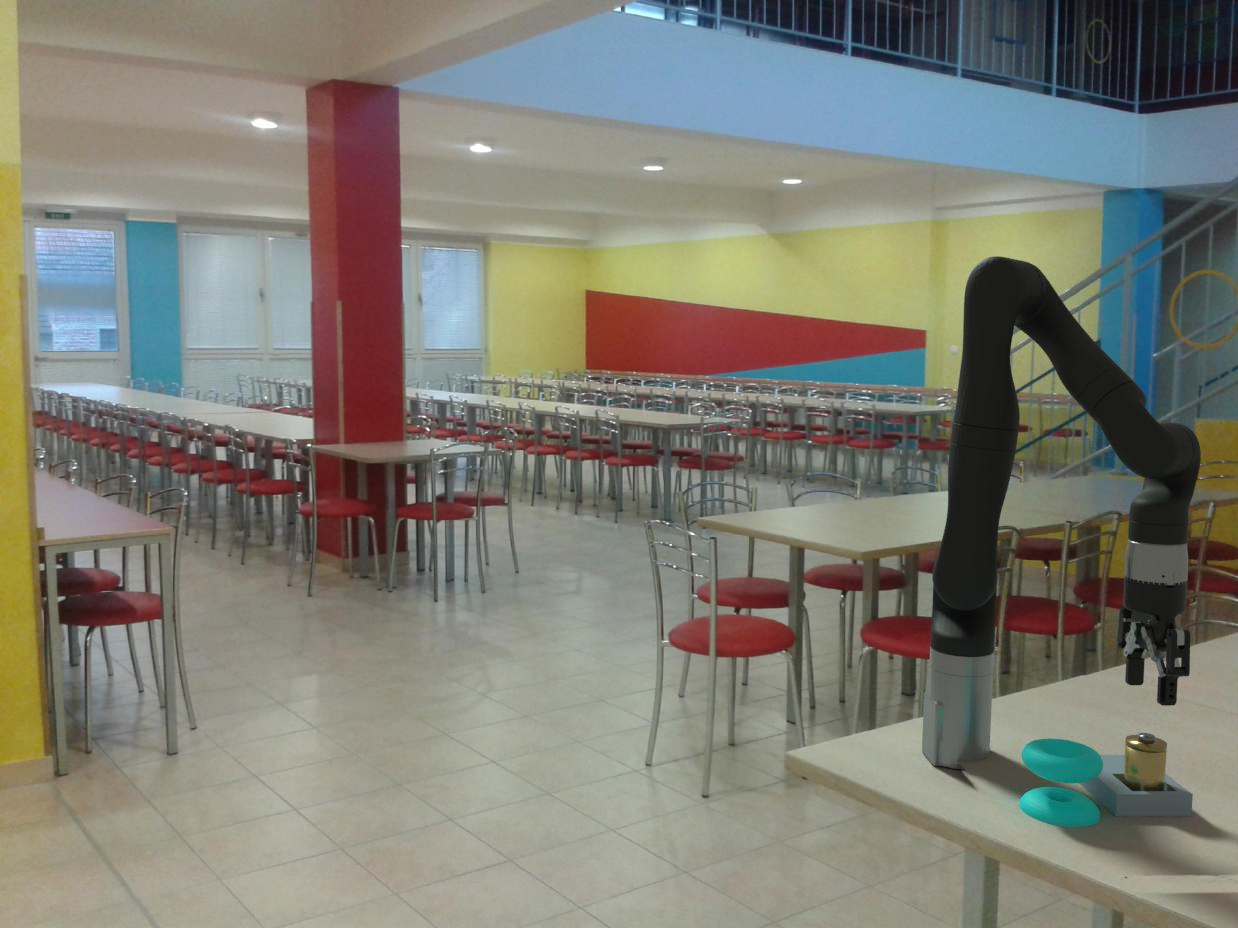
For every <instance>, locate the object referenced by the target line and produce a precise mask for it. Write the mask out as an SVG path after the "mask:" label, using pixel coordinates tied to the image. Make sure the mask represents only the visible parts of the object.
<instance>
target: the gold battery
mask: <svg viewBox="0 0 1238 928" xmlns="http://www.w3.org/2000/svg"><path fill="white" fill-rule="evenodd" d="M1167 749H1168V743H1167V742H1166V741H1165V740H1164V739H1162V738H1159V737H1156V736H1155V735H1154V734H1152V733H1148V732H1139V733H1138V734H1129V735H1127V736H1126V737H1125V743H1124V755H1125V759H1124V776H1123V784H1124V785H1126V786H1127V787H1128V788H1129V789H1130V790H1132V791H1164V784H1165V774H1166V767H1167V751H1168V750H1167Z"/></svg>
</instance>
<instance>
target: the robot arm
mask: <svg viewBox="0 0 1238 928" xmlns="http://www.w3.org/2000/svg"><path fill="white" fill-rule="evenodd" d="M963 301H964V302H963V323H962V324H963V329H962V354H961V361H960V362H961V363H960V369H959V377H958V386H957V394H956V395H957V396H956V402H955V407H954V408H955V409H954V413H953V420H952V428H951V433H950V434H951V435H950V441H949V442H950V443H949V452H948V465H947V466H948V468H947V513H946V520H945V526H944V529H943V530H944V531H943V534H942V535H943V536H942V539H941V544H940V547H939V551H938V554H937V557H936V559H935V561H934V565H933V568H932V578H931V579H932V584H933V586H932V609H931V622H930V643H929V644H930V646H929V666H928V668H929V671H928V691H925V692H924V693H923V715H922V739H921V741H922V743H921V752H922V754H923V755H924V756H925V758H927V760H928V762H930V764H931V765H933V766H934V767H935V766H937V767H940V766H941V767H945V768H949V769H955V770H956V769H957V770H965V768H964V767H963V765H961V764H960V762H976V761H977V762H978V761H982V760H984V759H985V760H986V759H988V757H989V756H990V752H991V728H992V727H991V724H992V709H993V708H992V706H993V700H992V699H993V683H994V680H993V679H994V665H995V664H994V659H995V639H996V613H997V612H996V611H997V610H996V609H997V607H996V606H997V588H998V577H999V576H998V564H997V562H998V540H999V529H1000V528H999V527H1000V525H999V524H1000V521H1001V520H1000V519H1001V514H1002V510H1003V507H1004V503H1005V499H1006V496H1007V492H1008V488H1009V485H1010V480H1011V476H1012V471H1013V467H1014V462H1015V458H1016V457H1015V456H1016V452H1017V444H1018V437H1019V429H1020V418H1021V417H1020V416H1021V415H1020V413H1021V412H1020V405H1019V400H1018V394H1017V391H1016V386H1015V383H1014V378H1013V372H1012V367H1011V350H1012V344H1013V343H1012V341H1013V336H1014V329H1015V327H1016V328H1017V329H1019V330H1020V331H1021V332H1023V333H1024V334H1026V336H1027V337H1029V338H1031V339H1032V340H1033V341H1034V342H1035V343H1036V344H1037V345H1038V346H1039V348H1041V350H1042V351H1043V353H1044V354H1045V355H1046V356H1047V358H1048V359H1049V362H1051V364H1052V366H1053V368H1054V370H1055V372H1056V374H1057V377H1059V380H1060V382H1061V384H1062V385H1063V386H1064V388H1065V389H1066V390H1067V392H1068V393H1069V394H1070V395H1071V397H1072V398H1073V399H1074V400H1075V401H1076V402H1077V404H1078V405H1080V407H1081V408H1082V409H1083V410H1084V411H1085V412H1086V413H1087V414H1088V415H1089V417H1091V419H1092V420H1094V421H1095V422H1096V423H1097V424H1098V425H1099V427H1100V429H1101V431H1102V433H1103V435H1104V437H1105V438H1106V440H1107V442H1108V443H1109V445H1110V447H1111V448H1112V450H1113V451H1114V453H1115V455H1116V456H1117V458H1118V459H1119V460H1120V462H1121V463H1122V464H1123V465H1124V466H1125V467H1126V468H1127V469H1129V470H1130V471H1131V472H1133V474H1135V475H1137V476H1138V477H1141V478H1143V479H1144V480H1143V484H1142V485H1143V486H1142V490H1141V492H1140V493H1139V495H1137V496H1136V497H1135V498H1134V499H1133V500H1132V501H1131V503H1130V507H1129V513H1128V530H1127V545H1126V549H1125V556H1124V577H1123V578H1124V579H1123V594H1122V595H1123V599H1122V601H1123V602H1122V604H1123V605H1122V606H1121V607H1119V616H1118V617H1119V619H1118V627H1117V628H1118V629H1117V645H1116V646H1117V648H1118V649H1119V650H1120V649H1121V650H1123V652H1122V653H1123V656H1124V657H1126V660H1125V676H1124V677H1125V681H1124V682H1125V683H1126V684H1127V685H1128V686H1142V685H1143V684H1144V681H1145V680H1144V679H1145V660H1146V659H1145V658H1144V657H1145V656H1146V653H1148V654H1149V657H1150V660H1151V661H1152V662H1154V663H1155V665H1156V669H1157V672H1158V676H1157V693H1156V694H1157V695H1156V696H1157V697H1156V701H1157V704H1159V705H1161V706H1162V707H1163V706H1166V707H1167V706H1168V707H1169V706H1175V705H1176V704H1177V700H1178V696H1177V695H1178V680H1179V678H1181V677H1189V676H1190V673H1191V671H1190V667H1191V662H1190V661H1191V632H1190V630H1189V629H1178V628H1177V624H1176V617H1178V615H1182V614H1183V613H1185V612H1186V610H1187V598H1188V596H1187V595H1188V578H1189V577H1188V574H1189V553H1188V538H1189V537H1188V536H1189V534H1188V533H1189V509H1190V505H1191V501H1192V499H1193V496H1194V492H1195V489H1196V485H1197V481H1198V478H1199V477H1198V476H1199V473H1200V468H1201V461H1202V459H1201V458H1202V457H1201V456H1202V454H1201V453H1202V451H1201V446H1200V442H1199V439H1198V437H1197V435H1196V433H1195V432H1194V431H1193V430H1192V429H1191V428H1189V426H1187V425H1184V424H1181V423H1178V422H1165V423H1160V422H1158V420H1156V419H1155V418H1154V417H1153V415H1152V414H1151V413H1150V412H1149V411H1148V408H1146V405H1147V397H1146V395H1145V393H1144V391H1143V390H1142V389H1141V388H1140V386H1139V385H1138V384H1137V383H1136V382H1135V381H1134V380H1133V379H1132V378H1131V377H1130V376H1129V375H1128V374H1127V373H1126V372H1125V370H1123V369H1122V368H1121V367H1120V366H1119V364H1117V363H1116V362H1115V361H1114V360H1113V359H1112V358H1111V357H1110V356H1109V355H1108V354H1107V353H1106V352H1105V351H1104V350H1103V349H1102V348H1101V347H1100V346H1099V345H1098V343H1097V342H1096V341H1095V340H1094V339H1093V338H1092V337H1091V336H1090V335H1089V334H1088V332H1086V330H1085V329H1084V328H1083V327H1082V326H1081V324H1080V323H1079V321H1077V319H1076V318H1075V317H1074V315H1073V314H1072V313H1071V311H1070V310H1069V309H1068V307H1067V306H1066V304H1065V303H1064V302H1063V300H1062V299H1061V297H1060V295H1059V294H1058V292H1057V291H1056V289H1055V288H1054V286H1053V285H1052V284H1051V282H1050V281H1049V279H1048V278H1047V277H1046V276H1045V274H1044V273H1043V272H1042V270H1041V269H1040V268H1039V267H1038V266H1036V265H1034V264H1033V263H1031V262H1029V261H1025V260H1021V259H1015V258H1011V257H1006V256H998V255H997V256H990V257H986V258H984V259H982V260H981V261H980V262H978V263H977V264H976V265H975V266H974V267H973V269H972V270H971V272H970V273H969V275H968V278H967V281H966V285H965V288H964V297H963ZM1126 634H1127V636H1126ZM1179 659H1181V661H1180V662H1179Z"/></svg>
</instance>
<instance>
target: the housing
mask: <svg viewBox="0 0 1238 928" xmlns="http://www.w3.org/2000/svg"><path fill="white" fill-rule="evenodd" d="M1099 755H1100V756H1101V758H1102V760H1103V769H1102V772H1101V773H1100V774H1099V775H1098V776H1097V777H1096V778H1095V779H1093V780H1091V781H1088V782H1083V783H1078V784H1079V785H1080V786H1081V787H1082V788H1083V789H1085V791H1087V792H1088V793H1089V794H1091V796H1092V797H1093V798H1095V799H1096V800H1097V801H1098V802H1099V803H1100V804H1101V805H1102V806H1104V808H1105V809H1107V810H1108V811H1109V812H1110V813H1111V814H1112V815H1114V816H1115V817H1117V818H1119V817H1123V818H1125V817H1126V818H1127V817H1134V818H1135V817H1146V818H1147V817H1151V818H1152V817H1154V818H1156V817H1162V818H1163V817H1165V818H1166V817H1170V818H1171V817H1172V818H1173V817H1176V818H1177V817H1178V818H1179V817H1181V818H1182V817H1184V818H1185V817H1188V818H1189V817H1192V810H1193V800H1194V799H1193V797H1194V794H1193V793H1192V792H1191V791H1189V790H1188V789H1186V788H1185V787H1184V786H1183V785H1181V784H1180V783H1179V782H1177V781H1176V780H1174V779H1173V778H1172V777H1170V776H1169V775H1168V774H1166V773H1165V784H1164V791H1132V790H1130V789H1129V788H1128V787H1127V786H1126V785H1124V784H1123V776H1124V759H1125V754H1099Z"/></svg>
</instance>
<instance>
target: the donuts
mask: <svg viewBox="0 0 1238 928" xmlns="http://www.w3.org/2000/svg"><path fill="white" fill-rule="evenodd" d="M1100 755H1101V754H1099V752H1098V751H1096V749H1093V748H1092V747H1090V746H1088V745H1086V744H1083V743H1080V742H1078V741H1077V742H1076V741H1073V740H1068V739H1061V738H1039V739H1035V740H1032V741H1030V742H1028V743H1026V744H1025V746H1024V747H1023V748H1022V751H1021V759H1022V762H1023V764H1024V765H1025V767H1026V768H1027V769H1028V770H1029V771H1030V772H1032V774H1035V775H1036V776H1038V777H1040V778H1043V779H1045V780H1048V781H1051V782H1056V783H1061V784H1079V783H1083V782H1088V781H1091V780H1093V779H1095V778H1096V777H1097V776H1098V775H1099V774H1100V773H1101V772H1102V769H1103V760H1102V758H1101V756H1100ZM1018 807H1019V809H1020V810H1021V811H1022V812H1023V814H1025V815H1026V816H1028V817H1031V818H1032V819H1034V820H1037V821H1040V822H1041V823H1046V824H1049V825H1050V824H1051V825H1054V826H1059V827H1060V826H1061V827H1071V828H1077V827H1079V828H1080V827H1088V826H1092V825H1095V824H1097V823H1098V822H1100V819H1101V813H1100V810H1099V807H1098V806H1097V804H1096V803H1095V802H1094V801H1093V800H1091V799H1090V798H1089V797H1088V796H1086V795H1084V794H1083V793H1081V792H1078V791H1076V790H1072V789H1069V788H1064V787H1056V786H1041V787H1037V788H1033V789H1030V790H1029V791H1026V792H1025V793H1024V794H1023V795H1022V796H1021V798H1020V800H1019V805H1018Z"/></svg>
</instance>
